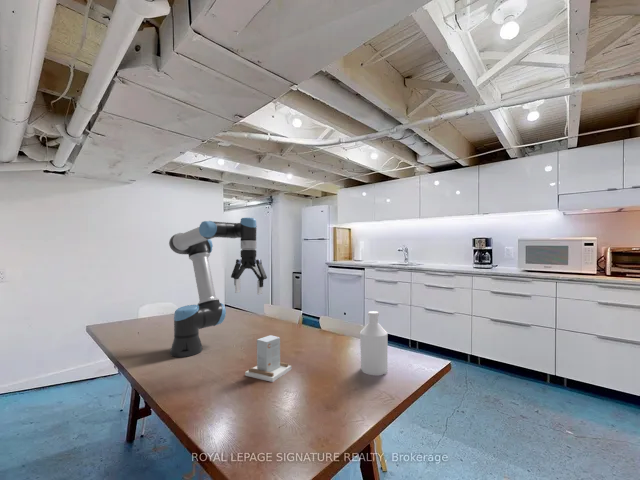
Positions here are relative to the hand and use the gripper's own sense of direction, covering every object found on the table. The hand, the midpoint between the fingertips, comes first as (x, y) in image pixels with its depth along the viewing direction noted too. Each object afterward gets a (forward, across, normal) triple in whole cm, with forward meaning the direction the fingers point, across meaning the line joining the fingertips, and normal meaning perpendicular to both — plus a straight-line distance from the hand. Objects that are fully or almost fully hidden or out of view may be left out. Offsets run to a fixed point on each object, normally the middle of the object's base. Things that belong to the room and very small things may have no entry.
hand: (248, 293), depth 144 cm
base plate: (+32, +18, -8) cm, 37 cm away
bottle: (+32, +58, +14) cm, 68 cm away
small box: (+30, +18, -8) cm, 36 cm away
